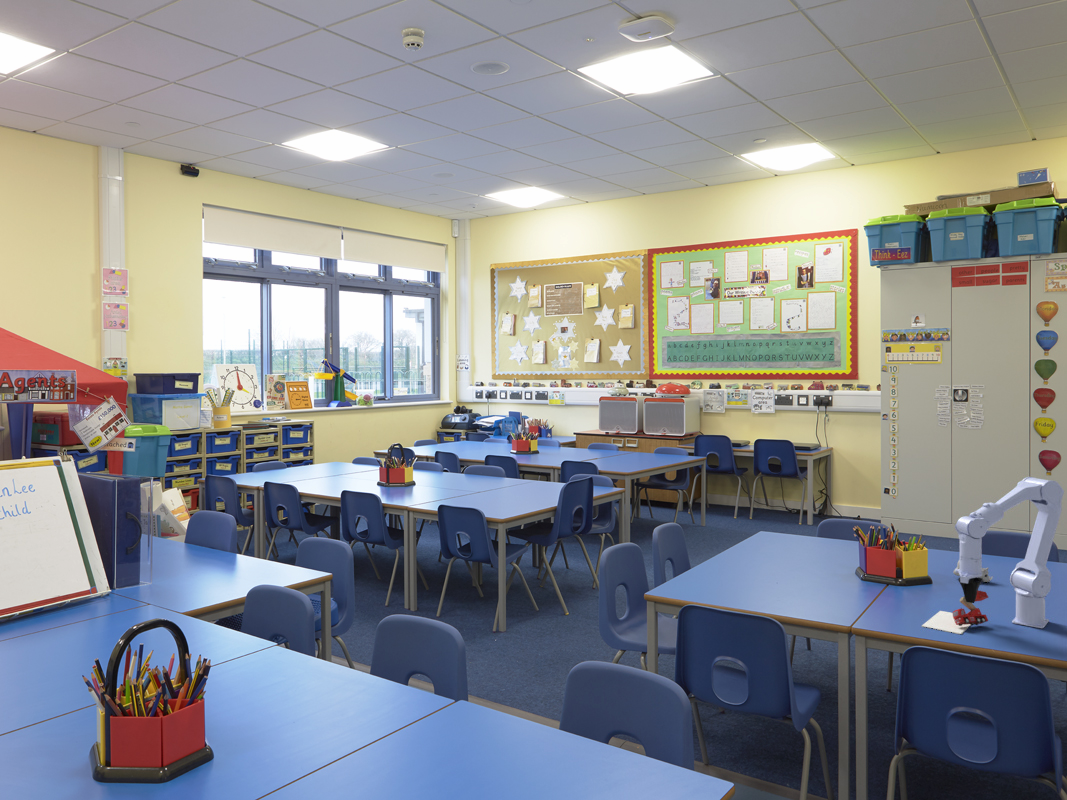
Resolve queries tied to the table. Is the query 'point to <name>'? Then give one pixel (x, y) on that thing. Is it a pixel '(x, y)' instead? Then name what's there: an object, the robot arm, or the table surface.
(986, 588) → the table surface
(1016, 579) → the robot arm
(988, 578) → the chubby cartoon animal
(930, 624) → the mat
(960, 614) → the toy fire truck
